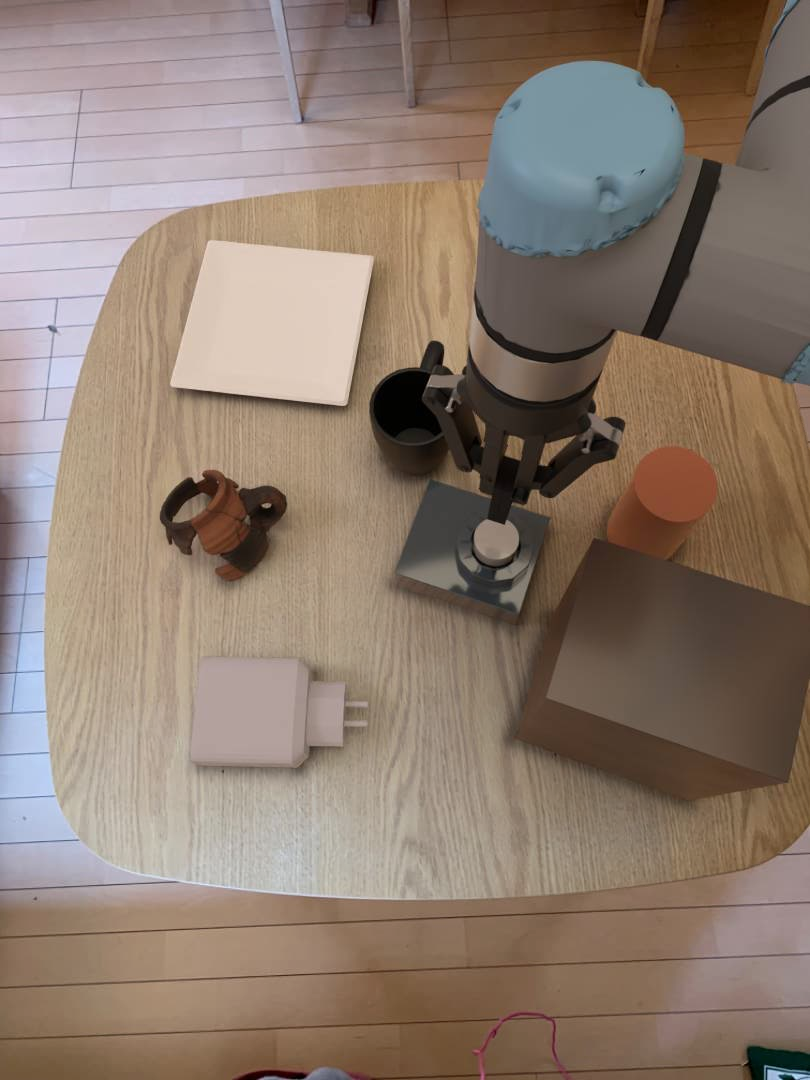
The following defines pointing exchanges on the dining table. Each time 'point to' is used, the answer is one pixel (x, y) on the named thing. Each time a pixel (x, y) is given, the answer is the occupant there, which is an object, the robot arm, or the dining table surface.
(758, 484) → the dining table surface
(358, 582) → the dining table surface
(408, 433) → the mug
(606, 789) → the dining table surface
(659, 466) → the orange cylinder
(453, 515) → the gray button box
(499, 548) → the round white push button
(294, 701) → the charger
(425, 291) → the dining table surface
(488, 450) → the robot arm
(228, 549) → the pottery mug
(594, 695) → the stand
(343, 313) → the plate
